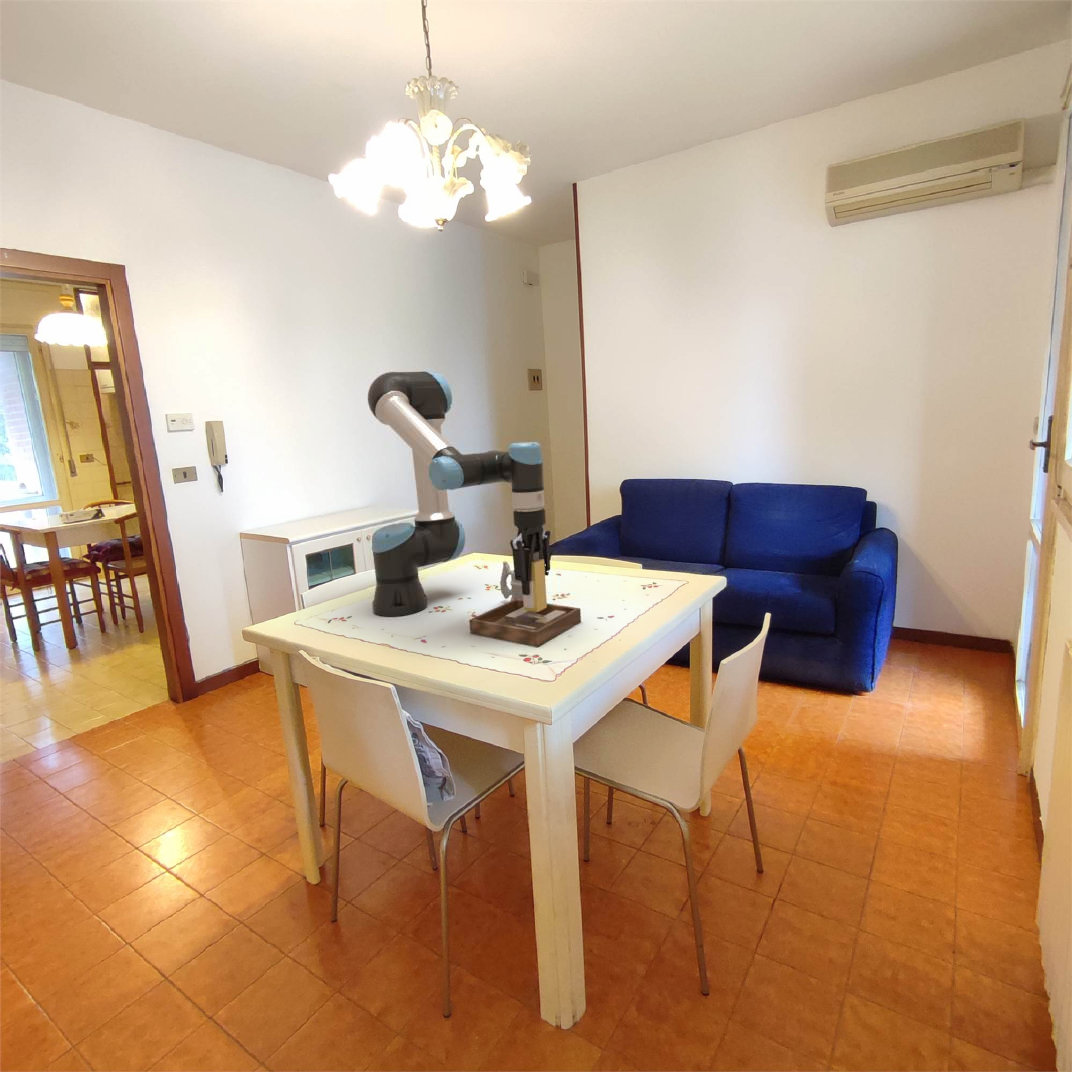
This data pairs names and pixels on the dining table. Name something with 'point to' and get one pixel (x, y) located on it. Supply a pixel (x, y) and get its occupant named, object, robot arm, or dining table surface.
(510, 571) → the mug
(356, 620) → the dining table surface
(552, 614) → the inlet
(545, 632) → the box
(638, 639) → the dining table surface
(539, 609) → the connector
